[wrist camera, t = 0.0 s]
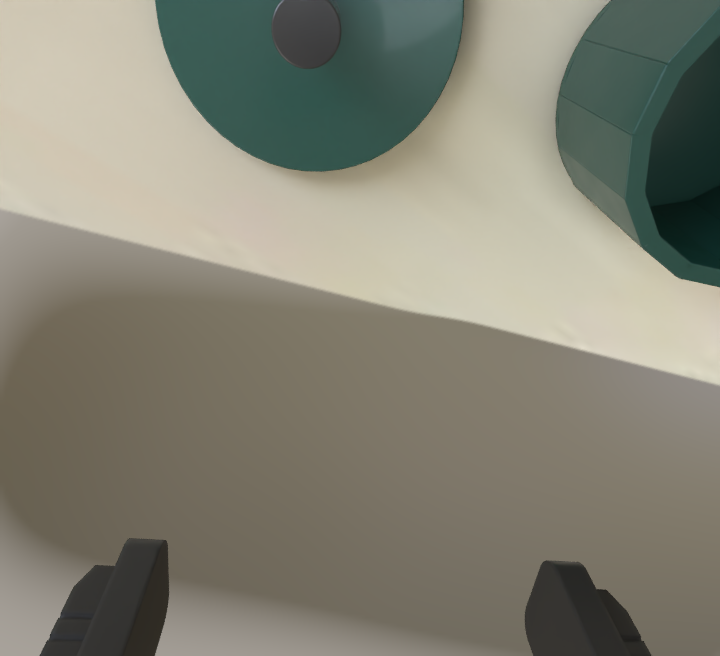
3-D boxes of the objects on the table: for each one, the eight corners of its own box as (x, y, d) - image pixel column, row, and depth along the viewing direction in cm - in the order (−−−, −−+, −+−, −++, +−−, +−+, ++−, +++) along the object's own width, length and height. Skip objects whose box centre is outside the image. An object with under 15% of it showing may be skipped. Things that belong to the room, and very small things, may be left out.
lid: (259, -277, 20) (233, -360, 15) (521, -20, 25) (569, -17, 20) (112, 54, 26) (57, 76, 21) (347, 213, 31) (349, 262, 26)
